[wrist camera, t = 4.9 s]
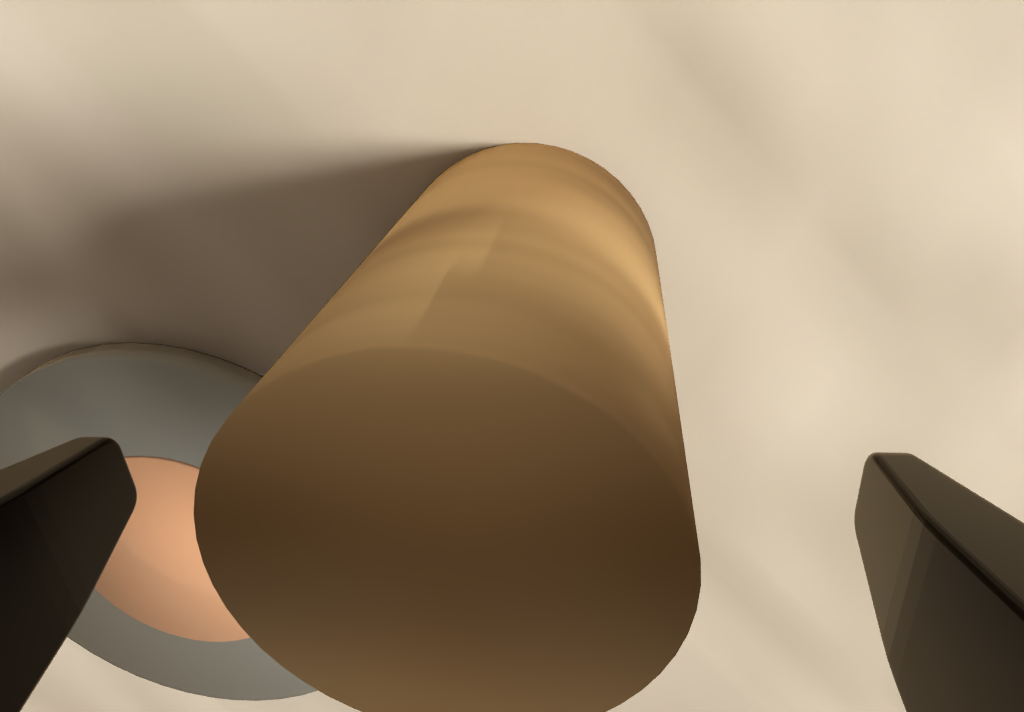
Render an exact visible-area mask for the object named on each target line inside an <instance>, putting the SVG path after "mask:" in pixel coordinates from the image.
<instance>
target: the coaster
mask: <svg viewBox="0 0 1024 712" xmlns="http://www.w3.org/2000/svg"><path fill="white" fill-rule="evenodd" d="M261 379H262V377H261V376H259V375H257V374H256V373H254V372H251V371H249V370H247V369H244V368H242V367H239V366H237V365H234V364H232V363H230V362H227V361H225V360H222V359H219V358H216V357H212V356H209V355H205V354H202V353H199V352H195V351H192V350H187V349H181V348H176V347H170V346H165V345H157V344H141V343H120V344H105V345H98V346H93V347H88V348H83V349H79V350H74V351H72V352H69V353H67V354H64V355H61V356H59V357H56V358H53V359H51V360H50V361H48V362H46V363H45V364H43V365H41V366H40V367H38V368H36V369H35V370H33V371H31V372H30V373H28V374H27V375H25V376H24V377H23V378H21V379H20V380H18V381H17V382H15V383H14V384H12V385H11V386H9V387H8V388H7V389H5V390H4V391H3V392H2V393H1V394H0V469H3V468H5V467H8V466H10V465H13V464H15V463H17V462H20V461H22V460H25V459H27V458H29V457H32V456H34V455H37V454H39V453H42V452H44V451H46V450H49V449H51V448H54V447H56V446H58V445H61V444H63V443H66V442H68V441H71V440H73V439H76V438H79V437H109V438H111V439H114V440H115V441H116V442H117V443H118V444H119V446H120V448H121V450H122V453H123V455H124V458H125V460H126V463H127V465H128V468H129V471H130V473H131V476H132V478H133V481H134V484H135V486H136V490H137V501H136V505H135V508H134V511H133V513H132V515H131V517H130V519H129V521H128V523H127V525H126V527H125V529H124V531H123V533H122V535H121V537H120V538H119V540H118V542H117V544H116V546H115V548H114V550H113V552H112V554H111V556H110V558H109V560H108V562H107V564H106V566H105V568H104V570H103V572H102V574H101V576H100V578H99V580H98V582H97V584H96V586H95V588H94V590H93V592H92V594H91V596H90V598H89V600H88V602H87V603H86V605H85V607H84V609H83V611H82V613H81V615H80V616H79V618H78V620H77V621H76V623H75V625H74V626H73V628H72V630H71V631H70V633H69V634H68V636H67V637H68V638H70V639H71V640H73V641H74V642H76V643H77V644H79V645H80V646H82V647H83V648H85V649H86V650H88V651H90V652H91V653H93V654H95V655H96V656H98V657H100V658H102V659H104V660H105V661H107V662H109V663H111V664H113V665H115V666H117V667H119V668H121V669H123V670H125V671H128V672H130V673H132V674H134V675H136V676H139V677H141V678H144V679H147V680H149V681H152V682H155V683H157V684H160V685H163V686H167V687H170V688H174V689H177V690H180V691H184V692H188V693H193V694H198V695H203V696H207V697H214V698H222V699H231V700H254V701H259V700H274V699H283V698H289V697H294V696H300V695H304V694H307V693H311V692H314V691H317V689H315V688H314V687H312V686H310V685H308V684H307V683H305V682H303V681H302V680H301V679H299V678H298V677H296V676H295V675H294V674H292V673H291V672H289V671H288V670H286V669H285V668H284V667H282V666H281V665H280V664H279V663H277V662H276V661H275V660H274V659H273V658H272V657H270V656H269V655H268V654H267V653H266V652H265V651H263V650H262V649H261V648H260V647H259V646H258V645H257V644H256V643H255V642H254V641H253V640H252V638H251V637H250V636H249V635H248V634H247V633H246V632H245V631H244V630H243V629H242V628H241V626H240V625H239V624H238V623H237V621H236V620H235V619H234V617H233V616H232V615H231V613H230V612H229V611H228V610H227V608H226V607H225V605H224V603H223V602H222V600H221V598H220V597H219V595H218V593H217V592H216V590H215V588H214V587H213V585H212V582H211V580H210V578H209V575H208V573H207V571H206V568H205V566H204V564H203V561H202V557H201V554H200V550H199V546H198V543H197V539H196V531H195V523H194V496H195V487H196V482H197V478H198V474H199V470H200V466H201V463H202V461H203V458H204V456H205V454H206V452H207V449H208V447H209V445H210V443H211V441H212V439H213V438H214V436H215V435H216V433H217V432H218V431H219V429H220V428H221V426H222V425H223V423H224V422H225V420H226V419H227V418H228V417H229V415H230V414H231V413H232V412H233V411H234V410H235V409H236V407H237V406H238V405H239V404H240V403H241V402H242V400H243V399H244V398H245V397H246V396H247V395H248V394H249V392H250V391H251V390H252V389H253V388H254V387H255V386H256V384H257V383H258V382H259V381H260V380H261Z"/></svg>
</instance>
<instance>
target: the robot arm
mask: <svg viewBox="0 0 1024 712" xmlns="http://www.w3.org/2000/svg"><path fill="white" fill-rule="evenodd" d="M136 501H137V490H136V486H135V484H134V481H133V478H132V476H131V473H130V471H129V468H128V465H127V463H126V460H125V458H124V455H123V453H122V450H121V448H120V446H119V444H118V443H117V442H116V441H115V440H114V439H111V438H109V437H79V438H76V439H73V440H71V441H68V442H66V443H63V444H61V445H58V446H56V447H54V448H51V449H49V450H46V451H44V452H42V453H39V454H37V455H34V456H32V457H29V458H27V459H25V460H22V461H20V462H17V463H15V464H13V465H10V466H8V467H5V468H3V469H0V712H20V711H21V709H22V708H23V706H24V705H25V703H26V701H27V700H28V698H29V697H30V695H31V693H32V692H33V690H34V689H35V687H36V685H37V684H38V682H39V681H40V679H41V677H42V676H43V674H44V673H45V671H46V670H47V668H48V666H49V665H50V663H51V662H52V660H53V658H54V657H55V655H56V654H57V652H58V650H59V649H60V647H61V646H62V644H63V642H64V641H65V639H66V638H67V636H68V634H69V633H70V631H71V630H72V628H73V626H74V625H75V623H76V621H77V620H78V618H79V616H80V615H81V613H82V611H83V609H84V607H85V605H86V603H87V602H88V600H89V598H90V596H91V594H92V592H93V590H94V588H95V586H96V584H97V582H98V580H99V578H100V576H101V574H102V572H103V570H104V568H105V566H106V564H107V562H108V560H109V558H110V556H111V554H112V552H113V550H114V548H115V546H116V544H117V542H118V540H119V538H120V537H121V535H122V533H123V531H124V529H125V527H126V525H127V523H128V521H129V519H130V517H131V515H132V513H133V511H134V508H135V505H136ZM855 531H856V536H857V540H858V544H859V548H860V552H861V556H862V560H863V564H864V568H865V572H866V576H867V580H868V584H869V588H870V592H871V596H872V600H873V605H874V609H875V613H876V617H877V621H878V625H879V629H880V633H881V637H882V641H883V644H884V648H885V652H886V655H887V659H888V662H889V665H890V668H891V671H892V674H893V677H894V679H895V682H896V685H897V688H898V690H899V693H900V696H901V698H902V701H903V704H904V706H905V709H906V712H1024V523H1023V522H1021V521H1019V520H1018V519H1016V518H1015V517H1013V516H1011V515H1010V514H1008V513H1007V512H1005V511H1003V510H1002V509H1000V508H998V507H997V506H995V505H994V504H992V503H990V502H989V501H987V500H985V499H984V498H982V497H981V496H979V495H977V494H976V493H974V492H973V491H971V490H969V489H968V488H966V487H964V486H963V485H961V484H960V483H958V482H956V481H955V480H953V479H951V478H950V477H948V476H947V475H945V474H943V473H942V472H940V471H939V470H937V469H935V468H934V467H932V466H930V465H929V464H927V463H926V462H924V461H922V460H921V459H919V458H917V457H916V456H914V455H912V454H909V453H877V452H876V453H872V454H871V455H870V456H868V458H867V460H866V462H865V465H864V469H863V474H862V479H861V484H860V489H859V494H858V499H857V504H856V509H855Z"/></svg>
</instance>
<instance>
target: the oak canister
mask: <svg viewBox="0 0 1024 712" xmlns="http://www.w3.org/2000/svg"><path fill="white" fill-rule="evenodd" d="M194 523H195V531H196V539H197V543H198V546H199V550H200V554H201V557H202V561H203V564H204V566H205V568H206V571H207V573H208V575H209V578H210V580H211V582H212V585H213V587H214V588H215V590H216V592H217V593H218V595H219V597H220V598H221V600H222V602H223V603H224V605H225V607H226V608H227V610H228V611H229V612H230V613H231V615H232V616H233V617H234V619H235V620H236V621H237V623H238V624H239V625H240V626H241V628H242V629H243V630H244V631H245V632H246V633H247V634H248V635H249V636H250V637H251V638H252V640H253V641H254V642H255V643H256V644H257V645H258V646H259V647H260V648H261V649H262V650H263V651H265V652H266V653H267V654H268V655H269V656H270V657H272V658H273V659H274V660H275V661H276V662H277V663H279V664H280V665H281V666H282V667H284V668H285V669H286V670H288V671H289V672H291V673H292V674H294V675H295V676H296V677H298V678H299V679H301V680H302V681H303V682H305V683H307V684H308V685H310V686H312V687H314V688H315V689H317V690H319V691H320V692H322V693H324V694H326V695H327V696H329V697H331V698H333V699H335V700H337V701H340V702H342V703H344V704H346V705H348V706H350V707H352V708H354V709H357V710H360V711H362V712H606V711H608V710H610V709H612V708H614V707H616V706H618V705H620V704H622V703H623V702H625V701H626V700H628V699H629V698H631V697H632V696H634V695H635V694H637V693H638V692H640V691H641V690H642V689H643V688H645V687H646V686H647V685H648V684H649V683H650V682H651V681H652V680H654V679H655V678H656V677H657V676H658V675H659V674H660V673H661V672H662V671H663V670H664V668H665V667H666V666H667V665H668V663H669V662H670V661H671V660H672V659H673V657H674V656H675V655H676V653H677V652H678V650H679V648H680V647H681V645H682V643H683V641H684V640H685V638H686V636H687V634H688V632H689V630H690V627H691V624H692V621H693V619H694V616H695V613H696V610H697V605H698V599H699V593H700V587H701V563H700V553H699V546H698V539H697V532H696V525H695V518H694V511H693V504H692V497H691V491H690V484H689V477H688V470H687V463H686V456H685V449H684V442H683V435H682V429H681V422H680V415H679V408H678V401H677V394H676V387H675V380H674V374H673V367H672V360H671V353H670V346H669V339H668V332H667V325H666V318H665V312H664V305H663V298H662V291H661V284H660V277H659V270H658V263H657V257H656V251H655V245H654V240H653V237H652V234H651V231H650V228H649V225H648V222H647V220H646V218H645V216H644V214H643V212H642V210H641V208H640V207H639V205H638V204H637V202H636V201H635V199H634V198H633V196H632V195H631V193H630V192H629V191H628V190H627V189H626V188H625V187H624V186H623V185H622V184H621V182H620V181H619V180H618V179H616V178H615V177H614V176H613V175H612V174H610V173H609V172H608V171H607V170H606V169H604V168H603V167H601V166H599V165H598V164H596V163H595V162H593V161H592V160H590V159H588V158H586V157H583V156H581V155H579V154H577V153H575V152H572V151H569V150H566V149H562V148H559V147H556V146H550V145H544V144H538V143H515V144H505V145H499V146H495V147H491V148H487V149H484V150H481V151H479V152H476V153H474V154H471V155H469V156H467V157H465V158H463V159H461V160H460V161H458V162H456V163H455V164H453V165H452V166H450V167H449V168H448V169H446V170H445V171H444V172H443V173H441V174H440V175H439V176H438V177H437V178H436V179H435V180H434V181H433V182H432V183H431V184H430V185H429V186H428V188H427V189H426V190H425V191H424V192H423V193H422V194H421V196H420V197H419V198H418V199H417V200H416V201H415V203H414V204H413V205H412V206H411V207H410V208H409V209H408V211H407V212H406V213H405V214H404V215H403V216H402V218H401V219H400V220H399V221H398V222H397V223H396V224H395V226H394V227H393V228H392V229H391V230H390V231H389V232H388V234H387V235H386V236H385V237H384V238H383V239H382V241H381V242H380V243H379V244H378V245H377V246H376V247H375V249H374V250H373V251H372V252H371V253H370V254H369V255H368V257H367V258H366V259H365V260H364V261H363V262H362V264H361V265H360V266H359V267H358V268H357V269H356V270H355V272H354V273H353V274H352V275H351V276H350V277H349V279H348V280H347V281H346V282H345V283H344V284H343V285H342V287H341V288H340V289H339V290H338V291H337V292H336V293H335V295H334V296H333V297H332V298H331V299H330V300H329V302H328V303H327V304H326V305H325V306H324V307H323V308H322V310H321V311H320V312H319V313H318V314H317V315H316V316H315V318H314V319H313V320H312V321H311V322H310V323H309V325H308V326H307V327H306V328H305V329H304V330H303V331H302V333H301V334H300V335H299V336H298V337H297V338H296V339H295V341H294V342H293V343H292V344H291V345H290V346H289V348H288V349H287V350H286V351H285V352H284V353H283V354H282V356H281V357H280V358H279V359H278V360H277V361H276V363H275V364H274V365H273V366H272V367H271V368H270V369H269V371H268V372H267V373H266V374H265V375H264V376H263V377H262V379H261V380H260V381H259V382H258V383H257V384H256V386H255V387H254V388H253V389H252V390H251V391H250V392H249V394H248V395H247V396H246V397H245V398H244V399H243V400H242V402H241V403H240V404H239V405H238V406H237V407H236V409H235V410H234V411H233V412H232V413H231V414H230V415H229V417H228V418H227V419H226V420H225V422H224V423H223V425H222V426H221V428H220V429H219V431H218V432H217V433H216V435H215V436H214V438H213V439H212V441H211V443H210V445H209V447H208V449H207V452H206V454H205V456H204V458H203V461H202V463H201V466H200V470H199V474H198V478H197V482H196V487H195V496H194Z"/></svg>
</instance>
